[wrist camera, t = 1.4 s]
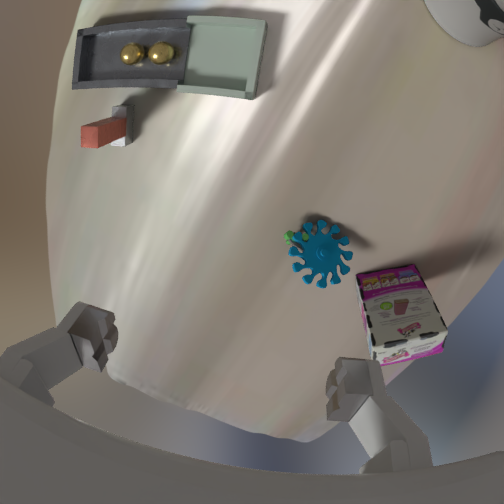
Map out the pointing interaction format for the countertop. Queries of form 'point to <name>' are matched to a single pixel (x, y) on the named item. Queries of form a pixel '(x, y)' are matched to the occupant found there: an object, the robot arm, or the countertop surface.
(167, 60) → the shiny gold ball
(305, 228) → the gear
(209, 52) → the tray
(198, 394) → the countertop surface
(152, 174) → the countertop surface
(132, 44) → the yellow-brown round piece
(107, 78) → the tray
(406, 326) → the candy bar box
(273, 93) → the countertop surface
